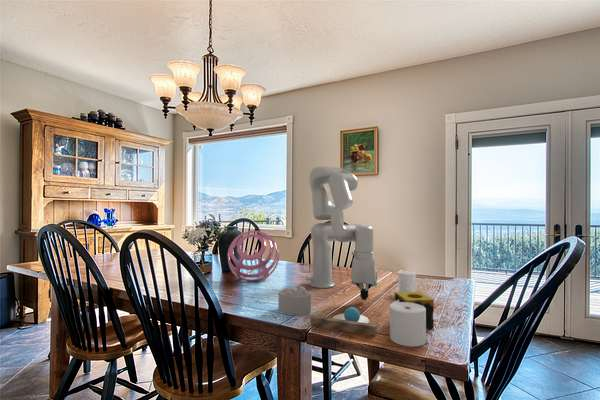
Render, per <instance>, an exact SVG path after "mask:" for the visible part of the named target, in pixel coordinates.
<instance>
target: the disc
mask: <svg viewBox="0 0 600 400" xmlns="http://www.w3.org/2000/svg"><path fill="white" fill-rule="evenodd" d="M332 318H334V319H341V320H345V318H344V312H343V313H338V314H336V315H334V316H333V317H332ZM358 322H361V323H368V324H370V320H369V318H368V317H367V316H365V315H363V314H360V319H359V321H358Z"/></svg>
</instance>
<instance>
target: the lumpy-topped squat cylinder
mask: <svg viewBox="0 0 600 400" xmlns="http://www.w3.org/2000/svg"><path fill="white" fill-rule="evenodd" d="M277 295H278V296H277V297H278V303H277V304H278V305H277V306H278V308H277V309H278V312H279V313H282V314H286V315H289V316H298V317H300V316H301V317H303V316H308V315H311V314H312V294H311V292H310V291H309V290H306V288H305V287H304V286H299V287H298V288H296V287H294V286H289V287H285V288H283V289H282V290H280V291H278V293H277Z"/></svg>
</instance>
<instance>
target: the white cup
mask: <svg viewBox="0 0 600 400" xmlns="http://www.w3.org/2000/svg"><path fill="white" fill-rule="evenodd" d="M416 277H417V272H415V271H412V270H399V271H397V281H398V282H397V283H398V292H416V281H417V279H416Z"/></svg>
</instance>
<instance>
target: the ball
mask: <svg viewBox="0 0 600 400" xmlns="http://www.w3.org/2000/svg"><path fill="white" fill-rule="evenodd" d="M343 313H344V318H345V320H347V321H354V322H358V321H359V319H360V315H361V313H360V311H359V309H357V308H356V307H354V306H350V307H347V308H345V310H344V312H343Z"/></svg>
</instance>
